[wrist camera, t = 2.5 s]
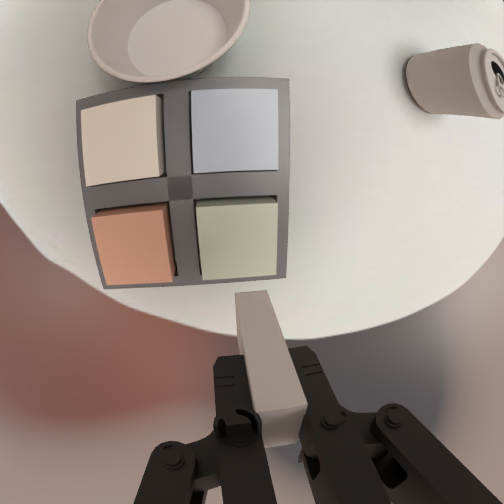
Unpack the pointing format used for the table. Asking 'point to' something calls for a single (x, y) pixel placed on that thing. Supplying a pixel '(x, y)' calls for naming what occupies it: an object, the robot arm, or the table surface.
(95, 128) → the key
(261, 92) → the key
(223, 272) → the key
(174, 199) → the keypad
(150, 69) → the food container
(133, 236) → the key
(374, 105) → the table surface
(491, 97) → the can
